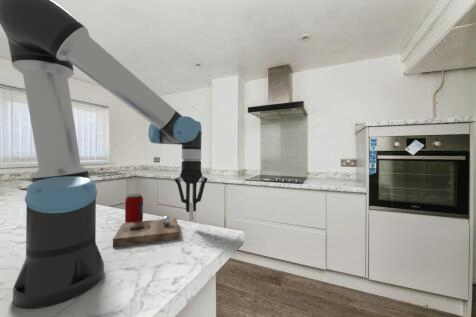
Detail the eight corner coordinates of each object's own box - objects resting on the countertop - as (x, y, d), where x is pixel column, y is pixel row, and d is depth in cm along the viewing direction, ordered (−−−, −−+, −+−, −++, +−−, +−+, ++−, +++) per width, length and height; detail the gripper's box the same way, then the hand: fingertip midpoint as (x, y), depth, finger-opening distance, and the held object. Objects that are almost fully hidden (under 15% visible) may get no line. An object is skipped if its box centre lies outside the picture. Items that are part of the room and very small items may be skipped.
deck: (176, 224, 85) (176, 218, 85) (178, 238, 70) (178, 231, 70) (122, 229, 78) (122, 222, 78) (112, 246, 63) (112, 239, 63)
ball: (171, 226, 75) (171, 217, 75) (161, 227, 73) (161, 218, 73) (171, 223, 78) (171, 214, 78) (161, 224, 77) (161, 215, 77)
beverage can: (146, 222, 86) (146, 194, 86) (130, 226, 81) (131, 197, 81) (137, 219, 90) (137, 193, 90) (121, 223, 84) (122, 195, 84)
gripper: (206, 160, 84) (205, 215, 85) (173, 160, 80) (173, 218, 80) (209, 160, 77) (209, 221, 78) (174, 160, 73) (174, 224, 73)
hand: (190, 219), depth 79 cm, fingers closed
